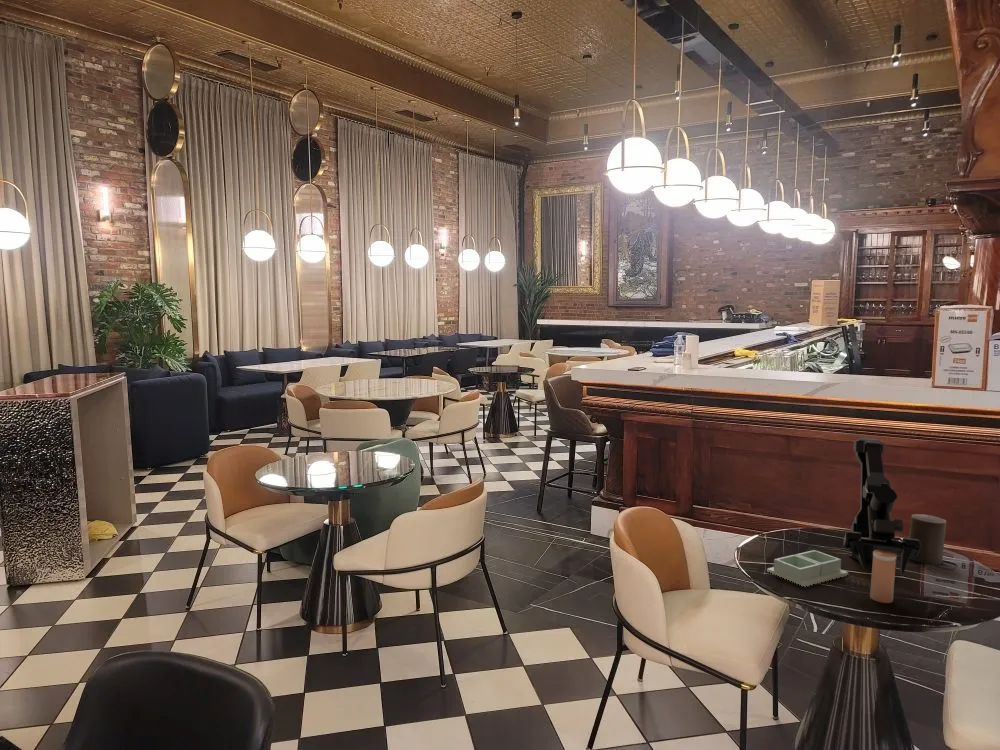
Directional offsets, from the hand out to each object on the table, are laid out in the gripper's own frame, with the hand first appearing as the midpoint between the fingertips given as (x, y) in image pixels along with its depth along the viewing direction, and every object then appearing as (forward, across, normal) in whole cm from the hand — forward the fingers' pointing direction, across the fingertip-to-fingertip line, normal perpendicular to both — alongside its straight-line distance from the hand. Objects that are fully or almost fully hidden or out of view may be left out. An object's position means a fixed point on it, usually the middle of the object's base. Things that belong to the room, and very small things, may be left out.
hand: (883, 571), depth 190 cm
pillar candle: (-24, +19, +35) cm, 47 cm away
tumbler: (+5, 0, +6) cm, 8 cm away
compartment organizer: (-3, -18, +14) cm, 23 cm away
